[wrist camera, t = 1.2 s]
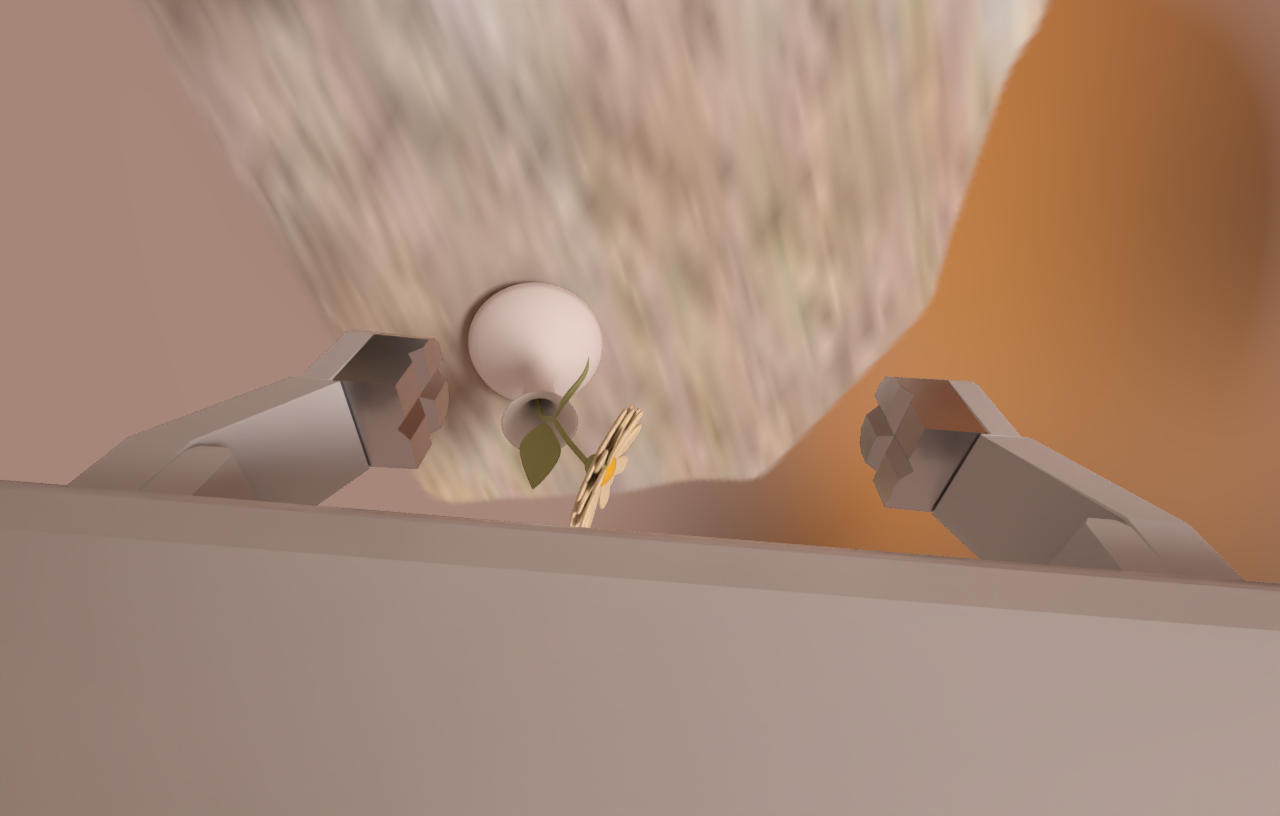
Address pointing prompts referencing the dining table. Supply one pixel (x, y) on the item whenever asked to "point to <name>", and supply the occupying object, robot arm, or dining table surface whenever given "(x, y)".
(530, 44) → the dining table surface
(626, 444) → the flower in vase
